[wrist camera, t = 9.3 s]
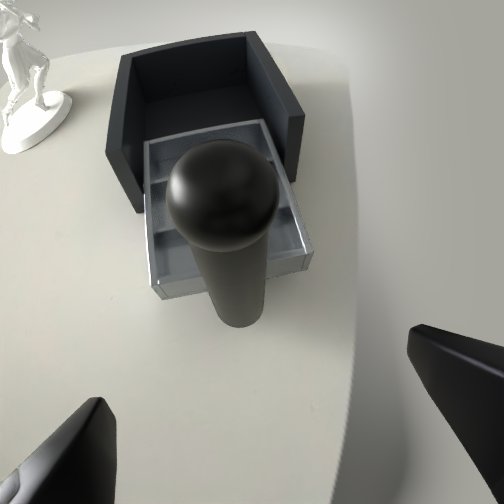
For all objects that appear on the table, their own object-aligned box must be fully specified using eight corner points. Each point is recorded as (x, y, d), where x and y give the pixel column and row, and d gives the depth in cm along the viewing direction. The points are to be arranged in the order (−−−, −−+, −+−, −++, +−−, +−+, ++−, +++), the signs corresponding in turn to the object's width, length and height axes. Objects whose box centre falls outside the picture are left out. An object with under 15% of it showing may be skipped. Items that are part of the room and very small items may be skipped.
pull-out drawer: (321, 315, 16) (409, 179, 6) (169, 347, 15) (43, 252, 6) (263, 141, 22) (266, -6, 12) (151, 163, 21) (104, 23, 11)
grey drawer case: (295, 181, 21) (305, 114, 16) (136, 213, 21) (104, 153, 15) (255, 85, 27) (255, 30, 21) (137, 108, 26) (121, 55, 20)
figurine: (58, 141, 24) (-17, -18, 8) (-10, 166, 24) (-89, 42, 8) (80, 84, 29) (35, -45, 13) (18, 108, 28) (-35, -2, 12)
